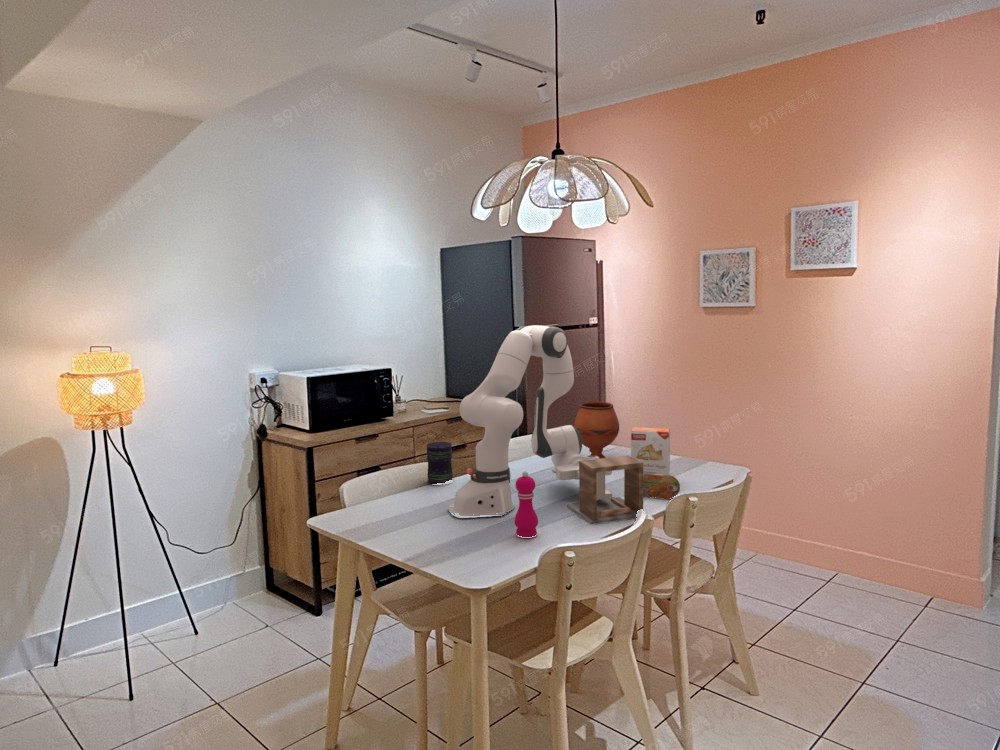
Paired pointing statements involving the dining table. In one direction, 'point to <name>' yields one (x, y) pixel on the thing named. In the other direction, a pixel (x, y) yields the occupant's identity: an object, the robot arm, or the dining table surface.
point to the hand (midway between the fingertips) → (592, 476)
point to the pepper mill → (525, 507)
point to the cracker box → (651, 449)
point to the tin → (660, 486)
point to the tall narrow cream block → (602, 486)
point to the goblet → (597, 426)
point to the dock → (609, 507)
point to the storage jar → (439, 462)
